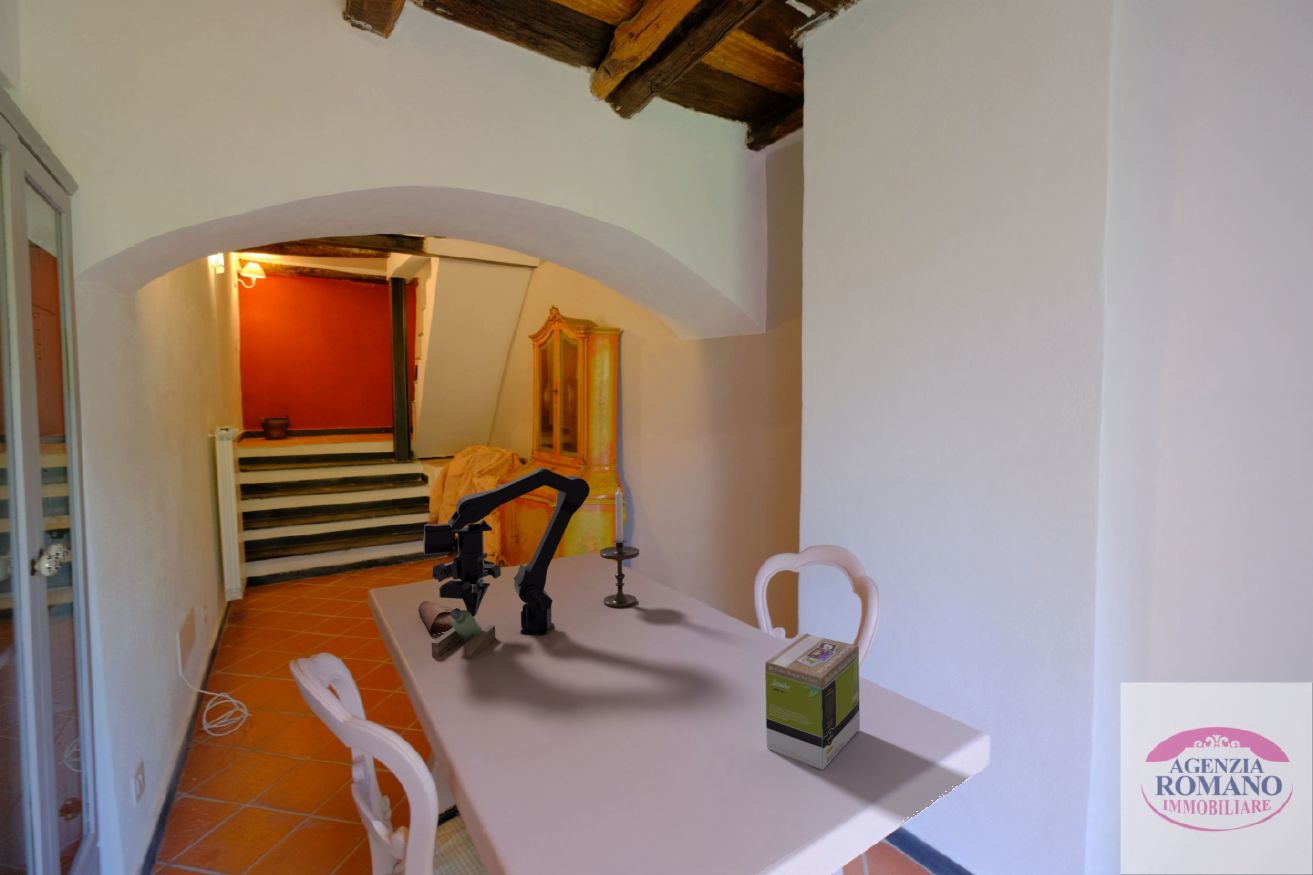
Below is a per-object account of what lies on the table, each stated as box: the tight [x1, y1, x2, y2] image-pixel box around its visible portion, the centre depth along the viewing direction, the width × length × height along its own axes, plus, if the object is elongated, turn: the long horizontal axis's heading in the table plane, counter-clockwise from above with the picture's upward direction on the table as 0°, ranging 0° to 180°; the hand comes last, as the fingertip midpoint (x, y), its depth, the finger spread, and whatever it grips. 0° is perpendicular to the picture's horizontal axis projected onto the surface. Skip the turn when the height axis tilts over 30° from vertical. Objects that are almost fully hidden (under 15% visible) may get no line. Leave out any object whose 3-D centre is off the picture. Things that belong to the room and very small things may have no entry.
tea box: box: [764, 633, 861, 771], centre depth 100 cm, size 15×10×15 cm, turn 141°
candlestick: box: [599, 476, 640, 609], centre depth 168 cm, size 11×11×35 cm
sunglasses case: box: [418, 600, 453, 635], centre depth 155 cm, size 18×7×7 cm
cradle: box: [431, 624, 496, 660], centre depth 139 cm, size 9×12×3 cm
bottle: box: [450, 607, 483, 643], centre depth 140 cm, size 5×5×10 cm
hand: (472, 616), depth 143 cm, fingers closed
